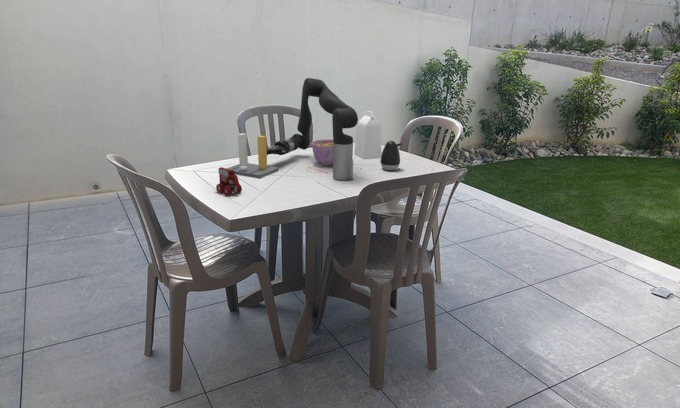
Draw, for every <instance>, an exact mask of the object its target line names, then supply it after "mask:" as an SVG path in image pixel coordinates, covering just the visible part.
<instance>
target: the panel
mask: <svg viewBox="0 0 680 408" xmlns="http://www.w3.org/2000/svg"><path fill="white" fill-rule="evenodd" d="M239 166H241V165H240V163H238V164H235V165H233V166H229V167H227V168H226V169H229V170H234V171H235V175H238V176H242V177H243V176H245V177H249V178H254V179H262V178H265V177H267V176H270V175H272V174H275V173H277V172H279V171H280V169H279V167H275V166H268V165H267V168H265V169H260V168H259V164H256V163H249V162H248V165H246V166H247V169H248V171H246V172H240V171H239Z"/></svg>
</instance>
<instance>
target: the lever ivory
mask: <svg viewBox="0 0 680 408" xmlns="http://www.w3.org/2000/svg"><path fill="white" fill-rule="evenodd" d="M247 140H248V137H247V133H243V132H242V133H238V134H237V143H238V144H237V145H238V158H239V159H238V160H239V161H238V162H239V163H238V164H240V165H241V166H246V165H248V163H249V160H248V158H249V157H248V142H247Z"/></svg>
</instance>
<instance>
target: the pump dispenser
mask: <svg viewBox="0 0 680 408" xmlns="http://www.w3.org/2000/svg"><path fill="white" fill-rule="evenodd" d="M399 146H402V142H400V143H396V142H395V141H394V140H388V141H387V142H386V143H385V145H384V147H383V149H382V150H381V158H380V167H382V169H383V170H384V171H387V170H394V171H396V170H397V169H399V166H400V165H401V156H400V151H399Z"/></svg>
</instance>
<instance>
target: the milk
mask: <svg viewBox="0 0 680 408" xmlns="http://www.w3.org/2000/svg"><path fill="white" fill-rule="evenodd" d="M355 127H356V128H355V143H354V154H353V156H356V157H358V158H360V159H362V160H371V159H372V160H373V159H381V155H382V123H380V122H379V121H378V120H377V118H376V117H375V116H374V111H370V110H365V113H364V115H363V116H362V117H361V119H359V120H358V123H357V125H356V126H355Z"/></svg>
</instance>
